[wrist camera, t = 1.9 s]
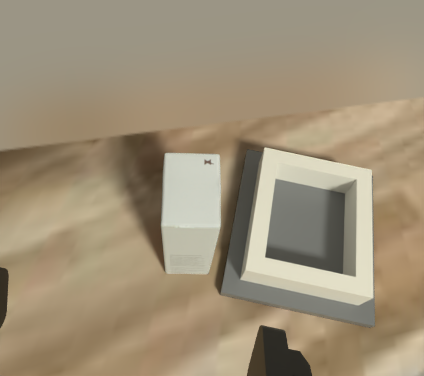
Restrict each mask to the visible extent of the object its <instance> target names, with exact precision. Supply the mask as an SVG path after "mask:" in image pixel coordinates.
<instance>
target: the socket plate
mask: <svg viewBox="0 0 424 376" xmlns="http://www.w3.org/2000/svg"><path fill="white" fill-rule="evenodd" d="M220 295H223V296H227V297H232V298H236V299H241V300H246V301H250V302H255V303H259V304H264V305H268V306H273V307H277V308H282V309H287V310H291V311H296V312H300V313H305V314H309V315H314V316H319V317H323V318H328V319H332V320H337V321H341V322H346V323H350V324H355V325H360V326H364V327H369V328H371V327H373V326H375V303H374V233H373V176H372V170H370V169H365V168H360V167H355V166H351V165H346V164H341V163H336V162H332V161H327V160H322V159H317V158H313V157H308V156H303V155H299V154H294V153H289V152H284V151H280V150H275V149H270V148H264V151H263V152H259V151H254V150H249V149H247V152H246V157H245V162H244V168H243V173H242V178H241V184H240V189H239V195H238V200H237V206H236V211H235V216H234V222H233V227H232V233H231V238H230V244H229V249H228V255H227V260H226V265H225V271H224V276H223V282H222V287H221V293H220Z"/></svg>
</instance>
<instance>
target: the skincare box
mask: <svg viewBox="0 0 424 376" xmlns="http://www.w3.org/2000/svg"><path fill="white" fill-rule="evenodd" d="M220 197H221V183H220V156H219V154H192V153H165V155H164V166H163V185H162V211H161V232H162V243H163V254H164V264H165V272H166V273H168V274H177V273H178V274H208V273H209V270H210V266H211V262H212V258H213V255H214V251H215V247H216V243H217V240H218V235H219V231H220V227H221V198H220Z"/></svg>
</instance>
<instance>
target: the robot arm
mask: <svg viewBox="0 0 424 376" xmlns="http://www.w3.org/2000/svg"><path fill="white" fill-rule="evenodd" d="M7 296H8V271H7V269H5V268H1V267H0V328H1V326H2V324H3V322H4V320H5V317H6V313H7ZM247 376H312V373H311V369H310V365H309V364H308V362H307V361H306V359H305V358H304V357H303V355H302V354H301V352H300V351H296V350H291V349H288V344H287V338H286V333H285V330H281V329H276V328H272V327H267V326H263V325H261V326H260V327H259V330H258V334H257V337H256V341H255V345H254V349H253V352H252V356H251V360H250V364H249V368H248V373H247Z"/></svg>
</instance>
